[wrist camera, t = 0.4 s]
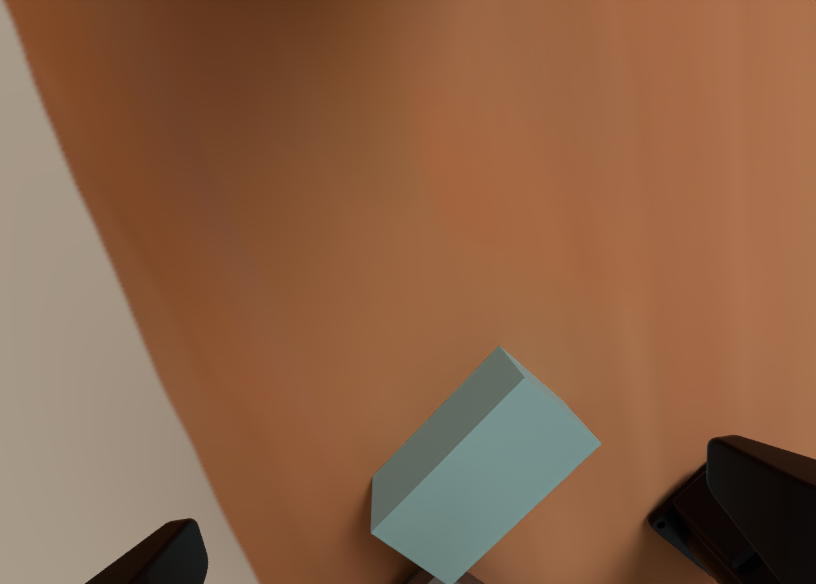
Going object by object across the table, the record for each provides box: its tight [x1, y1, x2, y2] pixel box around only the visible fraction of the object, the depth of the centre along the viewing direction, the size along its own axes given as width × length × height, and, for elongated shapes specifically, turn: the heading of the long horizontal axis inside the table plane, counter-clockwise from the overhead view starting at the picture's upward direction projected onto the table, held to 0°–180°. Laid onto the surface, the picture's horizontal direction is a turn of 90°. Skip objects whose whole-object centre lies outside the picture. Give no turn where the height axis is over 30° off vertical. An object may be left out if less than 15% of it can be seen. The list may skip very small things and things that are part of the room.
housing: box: [371, 346, 601, 584], centre depth 20 cm, size 5×10×4 cm, turn 138°
